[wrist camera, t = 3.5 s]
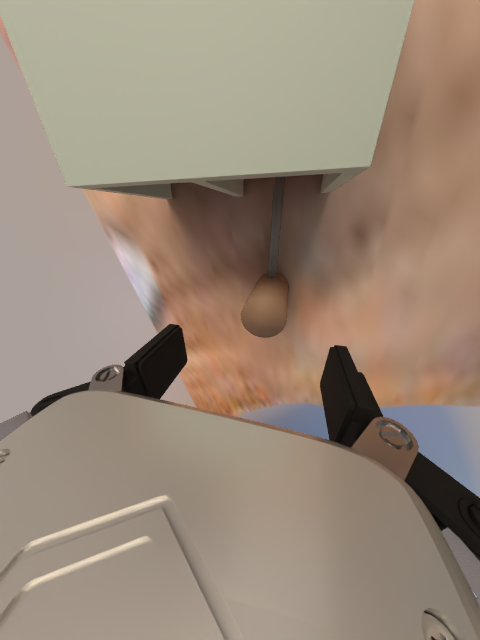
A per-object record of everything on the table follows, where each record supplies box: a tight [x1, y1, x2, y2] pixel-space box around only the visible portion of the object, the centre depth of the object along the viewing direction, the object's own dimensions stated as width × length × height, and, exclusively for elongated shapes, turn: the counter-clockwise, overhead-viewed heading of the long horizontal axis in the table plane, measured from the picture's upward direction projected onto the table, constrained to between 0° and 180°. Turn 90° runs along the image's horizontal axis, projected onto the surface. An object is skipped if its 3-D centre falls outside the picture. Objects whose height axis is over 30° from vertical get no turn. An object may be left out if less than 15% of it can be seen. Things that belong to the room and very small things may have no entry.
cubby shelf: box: [0, 0, 414, 199], centre depth 10 cm, size 15×12×10 cm
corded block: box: [241, 176, 289, 337], centre depth 14 cm, size 5×17×7 cm, turn 0°
